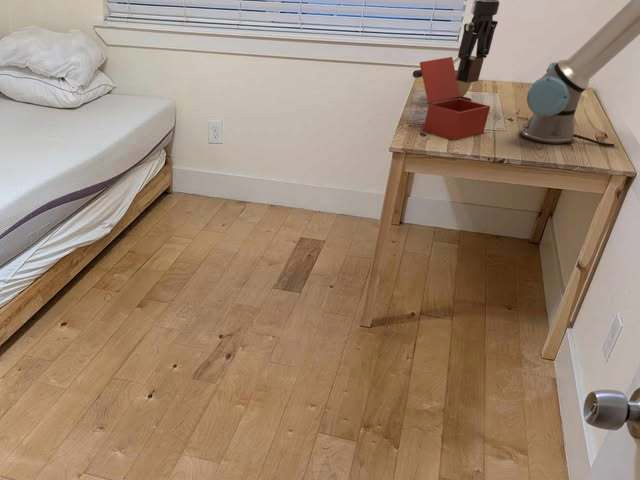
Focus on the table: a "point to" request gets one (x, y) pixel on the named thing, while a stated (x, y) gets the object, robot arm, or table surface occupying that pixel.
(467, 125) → the chest
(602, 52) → the robot arm
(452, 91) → the lid
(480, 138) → the table surface
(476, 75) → the block
